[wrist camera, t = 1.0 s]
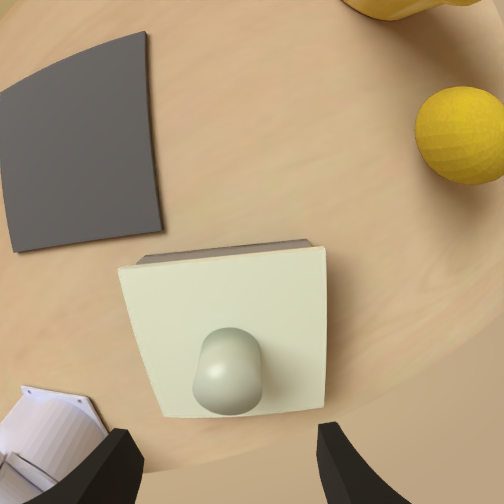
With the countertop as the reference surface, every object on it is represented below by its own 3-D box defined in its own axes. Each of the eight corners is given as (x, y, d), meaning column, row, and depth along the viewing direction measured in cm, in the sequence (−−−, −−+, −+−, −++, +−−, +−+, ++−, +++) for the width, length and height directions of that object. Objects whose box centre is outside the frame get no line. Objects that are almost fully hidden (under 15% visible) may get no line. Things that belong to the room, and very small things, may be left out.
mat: (16, 251, 18) (13, 252, 17) (3, 93, 14) (0, 92, 14) (163, 229, 18) (161, 230, 17) (146, 33, 14) (144, 30, 14)
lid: (168, 403, 19) (153, 453, 14) (127, 261, 16) (87, 295, 11) (319, 393, 19) (334, 445, 14) (319, 242, 16) (347, 271, 11)
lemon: (387, 96, 16) (464, 64, 8) (451, 102, 15) (531, 86, 8) (398, 181, 17) (481, 194, 9) (460, 178, 17) (543, 191, 9)
